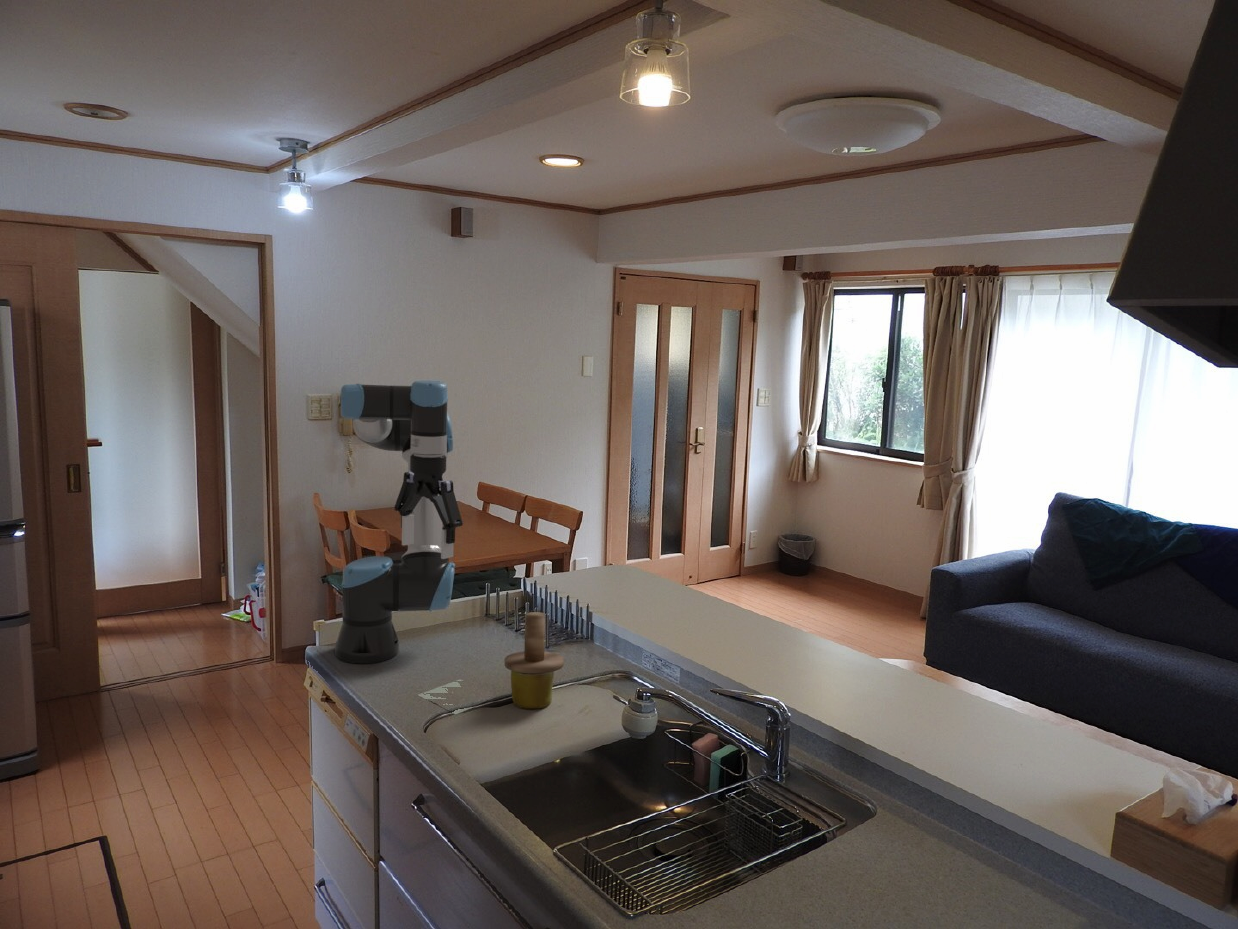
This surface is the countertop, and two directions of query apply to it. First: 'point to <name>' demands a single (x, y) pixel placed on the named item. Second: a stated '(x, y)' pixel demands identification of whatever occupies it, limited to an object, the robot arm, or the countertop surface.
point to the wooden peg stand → (534, 649)
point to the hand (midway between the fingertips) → (427, 551)
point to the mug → (531, 689)
